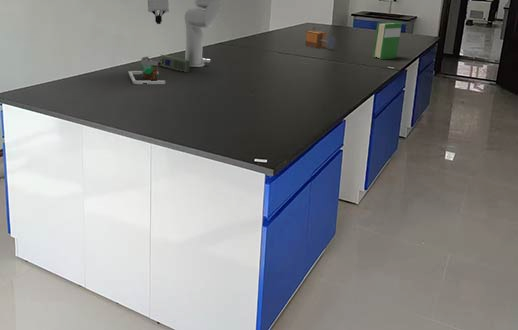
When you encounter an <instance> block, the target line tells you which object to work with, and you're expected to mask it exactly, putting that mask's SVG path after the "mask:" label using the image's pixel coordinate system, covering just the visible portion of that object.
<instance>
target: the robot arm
mask: <svg viewBox="0 0 518 330" xmlns="http://www.w3.org/2000/svg"><path fill="white" fill-rule="evenodd" d="M194 4H195V7H194V8H193V7H191V8H189V9H187V10H186V11H185V12H184V23H185V55H184V58H185V60H189V61H190V66H189V68H202V67H204V66H205V63H211V59H210V58H204V57H203V43H204V32H203V29H202V28H204V29H210V28H211V27H212V26H213V25H214V24H215V22H216V20H217V18H218V16H219V14H220V12H221V10H222V9H223V8H222V7H223V0H194ZM169 6H170V5H169V0H147V12H148V13H153V15H154V16H155V17H154V18H155V23H156V25H161V24H162V20H163V19H162V16H163V15H164V14H165V13H168V12H170V10H169Z"/></svg>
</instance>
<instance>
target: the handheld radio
mask: <svg viewBox="0 0 518 330" xmlns="http://www.w3.org/2000/svg"><path fill="white" fill-rule="evenodd" d="M159 60H160V62H159V61H158V66H159V65H160V67H161V66H163V67H162V68H166V67H167V68H166V69H170V68H171V70H174V69H175V70H174V71H178V70H179V72H182V71H184V72H183V73H190V67H189V66H190V61H189V60H185V59H184V58H179V57H175V56H171V55H165V54H160V59H159Z"/></svg>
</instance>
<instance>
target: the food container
mask: <svg viewBox="0 0 518 330" xmlns="http://www.w3.org/2000/svg"><path fill="white" fill-rule="evenodd" d="M158 62H159V61H158V60H154V59H152V58H151V59H150V58H149V56H143V57H141V59H140V64H141V68H142V69H141V71H142V72H143V75H142V79H143V78H144V79H143V80H145V79H149V80H148V81H151V80H157V79H158V75H157V71H158V66H159V65H158ZM157 81H158V80H157Z"/></svg>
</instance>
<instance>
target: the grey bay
mask: <svg viewBox="0 0 518 330" xmlns="http://www.w3.org/2000/svg"><path fill="white" fill-rule="evenodd" d="M140 74H143V72H142V70H128V76H129V78H130V79H131V81H132V84H133V85H144V84H143V83H147V84H146V85H166V80H157V81H151V80H136V79H135V76H134V75H140ZM157 74H158V75H159V71H158V70H157Z"/></svg>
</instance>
